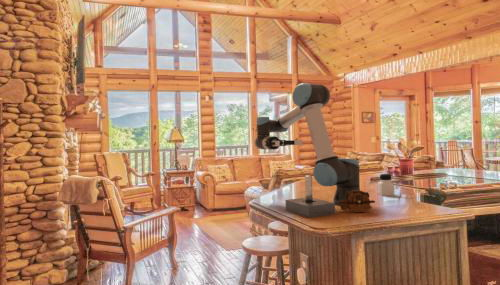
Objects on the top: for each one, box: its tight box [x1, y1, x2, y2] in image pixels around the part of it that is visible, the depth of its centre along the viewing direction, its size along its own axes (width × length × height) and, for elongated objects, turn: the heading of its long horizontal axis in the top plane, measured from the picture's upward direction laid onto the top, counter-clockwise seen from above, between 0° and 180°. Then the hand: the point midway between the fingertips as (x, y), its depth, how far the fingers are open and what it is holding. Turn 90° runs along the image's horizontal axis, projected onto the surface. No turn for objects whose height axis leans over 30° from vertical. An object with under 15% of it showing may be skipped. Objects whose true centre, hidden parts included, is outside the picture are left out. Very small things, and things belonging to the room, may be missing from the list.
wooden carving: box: [338, 190, 376, 213], centre depth 171 cm, size 16×5×10 cm, turn 87°
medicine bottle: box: [377, 173, 395, 197], centre depth 217 cm, size 7×7×12 cm
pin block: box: [285, 197, 336, 219], centre depth 175 cm, size 20×14×5 cm
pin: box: [304, 174, 314, 203], centre depth 175 cm, size 3×3×16 cm
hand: (290, 143), depth 196 cm, fingers open, 13 cm apart
